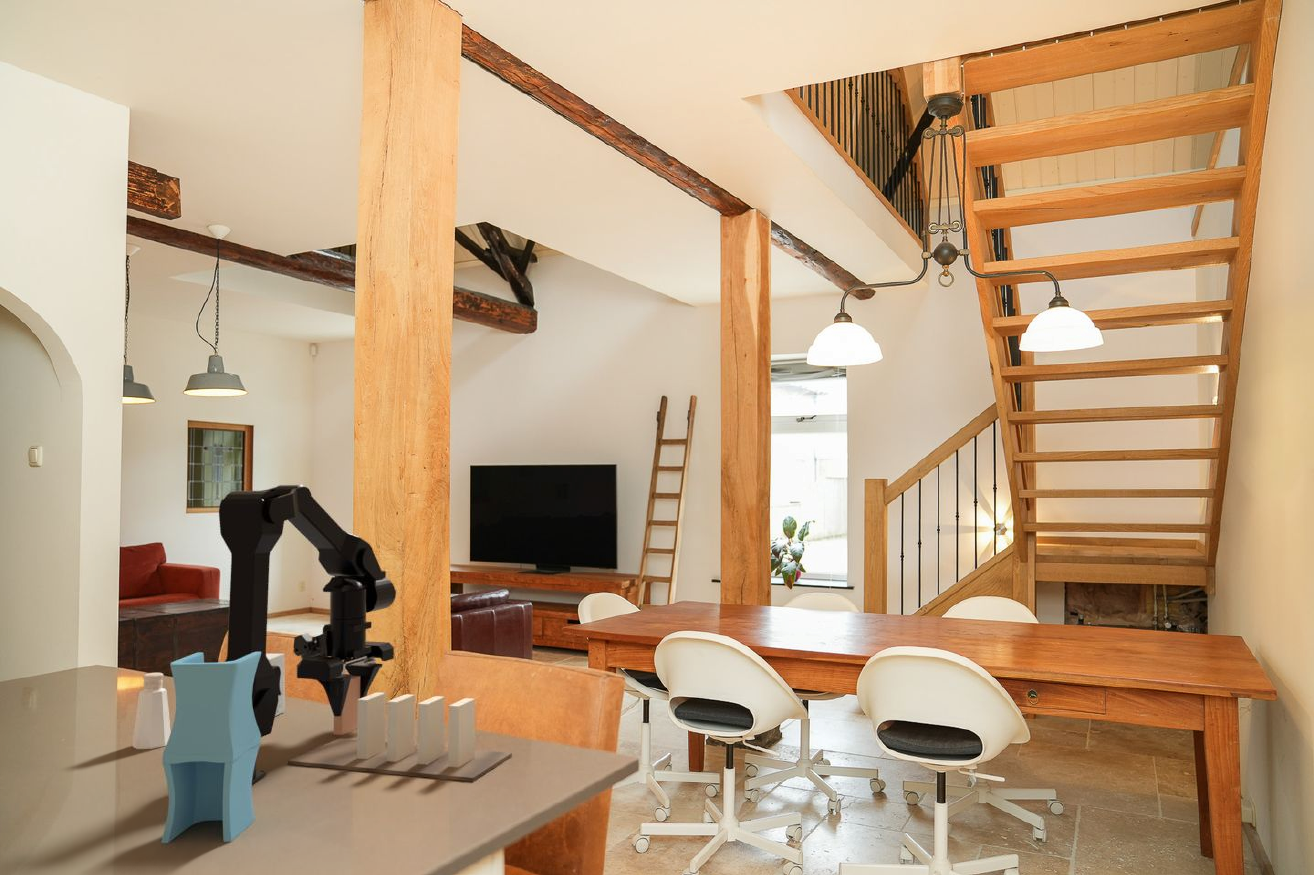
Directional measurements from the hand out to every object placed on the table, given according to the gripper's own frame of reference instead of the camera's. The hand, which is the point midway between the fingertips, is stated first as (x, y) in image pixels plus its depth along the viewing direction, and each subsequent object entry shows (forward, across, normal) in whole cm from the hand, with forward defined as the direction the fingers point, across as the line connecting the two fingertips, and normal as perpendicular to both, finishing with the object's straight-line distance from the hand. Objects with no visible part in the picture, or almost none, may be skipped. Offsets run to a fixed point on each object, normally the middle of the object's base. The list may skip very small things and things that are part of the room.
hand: (347, 712), depth 150 cm
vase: (+3, +42, +11) cm, 43 cm away
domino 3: (+2, +12, +23) cm, 26 cm away
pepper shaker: (+3, +15, -25) cm, 29 cm away
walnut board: (+3, +12, +18) cm, 21 cm away
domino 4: (+2, +12, +28) cm, 30 cm away
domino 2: (+2, +12, +18) cm, 21 cm away
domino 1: (+2, +12, +13) cm, 18 cm away
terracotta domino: (+3, 0, 0) cm, 3 cm away
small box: (+3, -4, -22) cm, 23 cm away
